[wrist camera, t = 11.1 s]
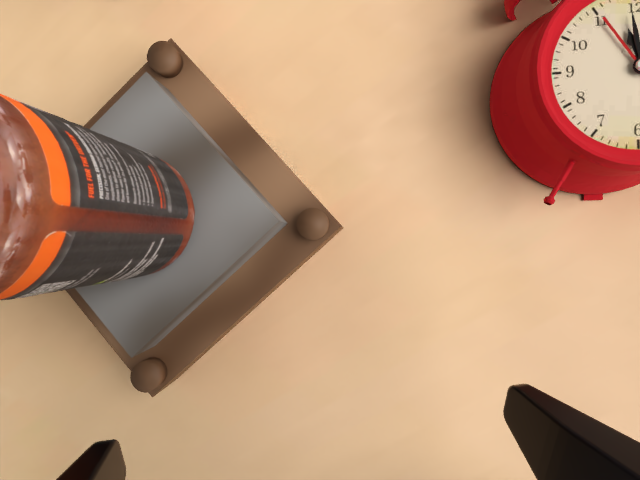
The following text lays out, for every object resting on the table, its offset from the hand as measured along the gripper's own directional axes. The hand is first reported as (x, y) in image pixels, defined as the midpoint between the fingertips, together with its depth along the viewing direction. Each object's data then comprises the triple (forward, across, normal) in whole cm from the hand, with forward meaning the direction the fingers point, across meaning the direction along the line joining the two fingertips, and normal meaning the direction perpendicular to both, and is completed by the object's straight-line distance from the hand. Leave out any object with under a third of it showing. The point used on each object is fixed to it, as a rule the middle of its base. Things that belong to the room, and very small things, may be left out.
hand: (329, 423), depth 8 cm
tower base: (+16, +6, -1) cm, 17 cm away
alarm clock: (+13, -17, -9) cm, 23 cm away
